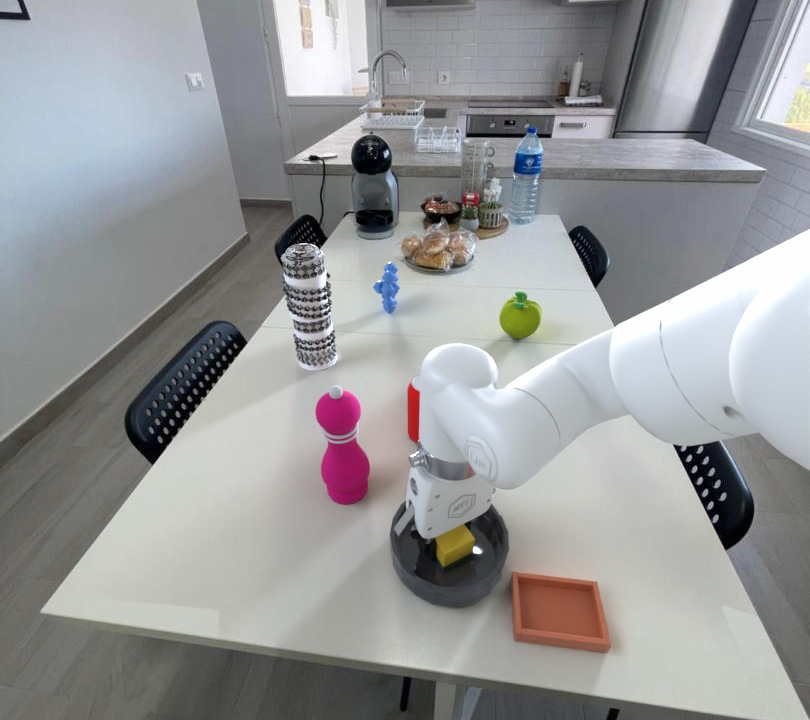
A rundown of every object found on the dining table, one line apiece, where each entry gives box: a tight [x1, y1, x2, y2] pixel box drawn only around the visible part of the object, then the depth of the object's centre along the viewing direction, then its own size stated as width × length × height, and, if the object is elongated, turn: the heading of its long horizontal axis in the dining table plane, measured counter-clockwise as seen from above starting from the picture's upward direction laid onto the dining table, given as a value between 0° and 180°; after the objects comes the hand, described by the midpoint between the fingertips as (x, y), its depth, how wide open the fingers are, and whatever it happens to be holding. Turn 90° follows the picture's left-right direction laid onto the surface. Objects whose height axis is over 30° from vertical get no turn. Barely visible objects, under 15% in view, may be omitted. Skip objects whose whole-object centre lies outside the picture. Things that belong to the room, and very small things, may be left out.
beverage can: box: [406, 374, 420, 445], centre depth 74 cm, size 6×6×12 cm
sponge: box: [434, 524, 475, 571], centre depth 59 cm, size 7×4×4 cm, turn 28°
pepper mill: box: [315, 384, 371, 505], centre depth 63 cm, size 7×7×20 cm
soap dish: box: [509, 571, 612, 654], centre depth 53 cm, size 10×7×2 cm
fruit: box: [498, 290, 543, 340], centre depth 101 cm, size 9×9×10 cm
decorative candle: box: [280, 242, 338, 372], centre depth 89 cm, size 9×9×25 cm
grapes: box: [372, 261, 401, 315], centre depth 111 cm, size 12×7×12 cm, turn 175°
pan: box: [389, 500, 510, 608], centre depth 59 cm, size 15×15×4 cm
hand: (444, 540), depth 60 cm, fingers closed on sponge, 4 cm apart
